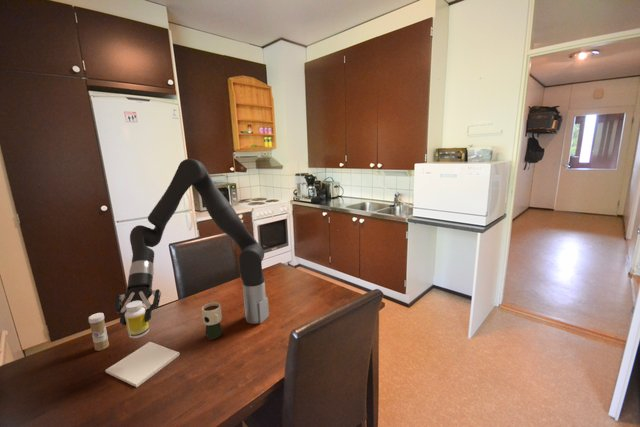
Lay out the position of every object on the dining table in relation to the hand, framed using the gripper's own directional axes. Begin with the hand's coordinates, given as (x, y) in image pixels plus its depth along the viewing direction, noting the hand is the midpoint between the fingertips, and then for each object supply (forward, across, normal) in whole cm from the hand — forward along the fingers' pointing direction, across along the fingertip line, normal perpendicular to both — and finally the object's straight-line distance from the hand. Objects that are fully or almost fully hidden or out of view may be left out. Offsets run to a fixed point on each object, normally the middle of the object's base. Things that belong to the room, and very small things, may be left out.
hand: (135, 322), depth 96 cm
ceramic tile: (+11, 0, +13) cm, 17 cm away
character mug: (+5, +23, +20) cm, 30 cm away
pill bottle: (+2, 0, +5) cm, 5 cm away
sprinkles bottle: (+1, -18, +24) cm, 30 cm away
